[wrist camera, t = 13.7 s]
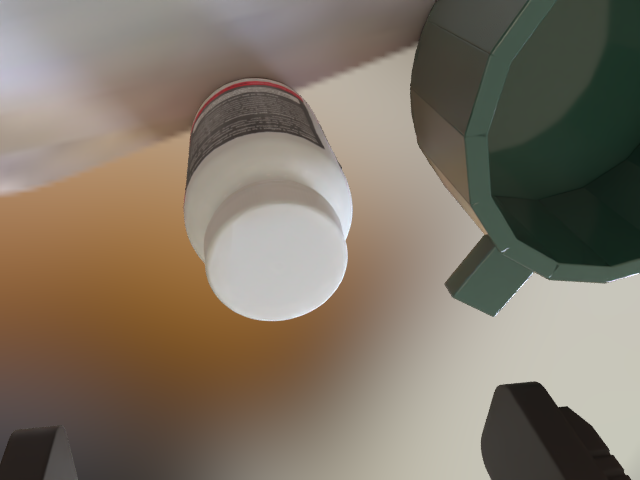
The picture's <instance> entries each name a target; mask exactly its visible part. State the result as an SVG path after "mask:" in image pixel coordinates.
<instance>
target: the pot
mask: <svg viewBox="0 0 640 480" xmlns="http://www.w3.org/2000/svg"><path fill="white" fill-rule="evenodd" d="M410 86H411V87H410V90H411V91H410V97H411V112H412V118H413V123H414V128H415V132H416V135H417V143H418V145H419V147H420V149H421V150H422V152H423V154H424V155H425V156H426V158H427V160H428V162H429V164H430V165H431V166H432V168H433V169H434V171H435V172H436V174H437V175H438V177H439V178H440V180H441V181H442V183H443V184H444V186H445V187H446V188H447V190H448V191H449V192H450V193H451V194H452V195H453V197H454V198H455V199H456V201H457V202H458V203H459V204H460V205H461V207H462V208H463V209H464V210H465V211H466V213H467V214H468V215H469V216H470V217H471V219H472V220H473V221H474V222H475V224H476V225H477V226H478V227H479V228H480V229H481V231H482V232H483V233H484V234H485V235H484V236H483V237H482V238H481V240H480V241H479V242H478V243H477V245H476V246H475V247H474V248H473V249H472V250H471V252H470V253H469V254H468V255H467V257H466V258H465V259H464V260H463V262H462V263H461V264H460V265H459V266H458V268H457V269H456V270H455V271H454V272H453V274H452V275H451V276H450V278H449V279H448V280H447V281H446V282H445V286H446V288H447V289H448V291H449V293H450V294H451V296H452V297H453V298H455V299H457V300H459V301H461V302H463V303H465V304H467V305H469V306H471V307H473V308H476V309H478V310H480V311H482V312H484V313H486V314H488V315H490V316H492V317H495V316H496V315H497V314H498V313H499V312H500V310H501V309H502V308H503V307H504V306H505V305H506V304H507V302H508V301H509V300H510V299H511V298H512V297H513V296H514V295H515V293H516V292H517V291H518V290H519V289H520V288H521V287H522V286H523V284H524V283H525V282H526V281H527V280H528V279H529V278H530V277H531V275H532V274H533V273H534V272H535V273H537V274H539V275H541V276H542V277H544V278H546V279H549V280H558V281H575V282H591V283H607V282H612V281H615V280H619V279H622V278H626V277H630V276H633V275H637V274H640V0H437V1H436V3H435V4H434V6H433V8H432V10H431V12H430V14H429V17H428V19H427V21H426V23H425V26H424V28H423V30H422V33H421V37H420V40H419V43H418V46H417V49H416V53H415V59H414V64H413V69H412V75H411V84H410Z"/></svg>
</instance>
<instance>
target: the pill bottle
mask: <svg viewBox="0 0 640 480" xmlns="http://www.w3.org/2000/svg"><path fill="white" fill-rule="evenodd" d="M185 190H186V191H185V198H184V218H185V219H184V220H185V226H186V231H187V235H188V237H189V240H190V242H191V244H192V246H193V248H194V250H195V251H196V253H197V255H198V256H199V257H200V258H201V260H202V261H203V262H204V263H205V269H206V275H207V278H208V281H209V284H210V286H211V288H212V290H213V292H214V293H215V295H216V296H217V297H218V299H219V300H220V301H221V302H222V303H224V304H225V305H226V306H227V307H229V308H230V309H231V310H233V311H234V312H236V313H238V314H241V315H243V316H245V317H248V318H252V319H257V320H265V321H282V320H287V319H292V318H295V317H298V316H301V315H304V314H306V313H308V312H310V311H312V310H314V309H316V308H317V307H319V306H320V305H322V304H323V303H324V302H325V301H326V300H328V298H329V297H330V296H331V295H332V294H333V293H334V292H335V290H336V289H337V288H338V286H339V284H340V283H341V281H342V279H343V276H344V273H345V270H346V266H347V260H348V254H347V245H346V241H345V240H346V238H347V235H348V233H349V229H350V226H351V221H352V212H353V208H352V198H351V193H350V189H349V185H348V182H347V179H346V177H345V175H344V173H343V171H342V167H341V165H340V164H339V162H338V161H337V158H336V156H335V154H334V152H333V151H332V149H331V146H330V145H329V143H328V141H327V139H326V136H325V135H324V132H323V130H322V128H321V126H320V124H319V122H318V120H317V118H316V116H315V114H314V112H313V111H312V109H311V108H310V106H309V105H308V104H307V102H306V101H305V100H304V99H303V98H302V97H301V96H300V95H299V94H298V93H297V92H295V91H294V90H293V89H291V88H290V87H288V86H286V85H284V84H282V83H280V82H276V81H272V80H269V79H261V78H246V79H241V80H237V81H234V82H231V83H228V84H226V85H224V86H222V87H220V88H219V89H217V90H216V91H215V92H213V93H212V94H211V95H210V96H209V97H208V98H207V99H206V100H205V101H204V102H203V104H202V105H201V107H200V108H199V110H198V112H197V114H196V116H195V119H194V121H193V124H192V128H191V136H190V147H189V158H188V169H187V181H186V188H185Z"/></svg>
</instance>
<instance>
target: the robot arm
mask: <svg viewBox="0 0 640 480" xmlns="http://www.w3.org/2000/svg"><path fill="white" fill-rule="evenodd" d="M481 451H482V457H483V461H484V464H485V467H486V469H487V472H488V474H489V476H490V478H491V480H631V479H630V477H629V476H628V475H625V473H624V469H623V468H622V466H621V465H620V464H619V462H618V461H617V460H616V458H615V457H614V455H610V453H609V451H610V450H609V449H608V447H607V446H606V444H605V443H604V442H603V440H602V439H601V438H600V437H599V435H598V434H597V432H596V431H595V430H594V428H593V427H592V426H591V425H590V424H588V423H587V422H586V421H585V420H584V419H582V418H581V417H580V416H579V415H577V414H576V413H575V412H574V411H572V410H571V409H570V408H568V407H567V406H566V407H558V406H557V405H556V404H555V402H554V401H553V399H552V398H551V396H550V395H549V394H548V392H547V391H546V389H545V388H544V387H543V386H542V385H541V384H540V383H538V382H526V383H514V384H505V385H499V386H498V387H497V388H496V390H495V392H494V395H493V399H492V402H491V406H490V409H489V413H488V416H487V419H486V423H485V426H484V430H483V433H482V437H481ZM0 480H78V478H77V473H76V470H75V466H74V462H73V458H72V454H71V450H70V446H69V442H68V438H67V434H66V430H65V428H64V427H63V426H62V425H61V426H50V427H40V428H29V429H19V430H15V431H14V432H13V433H12V434H11V436H10V438H9V441H8V444H7V447H6V449H5V452H4V455H3V458H2V461H1V464H0Z"/></svg>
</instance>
